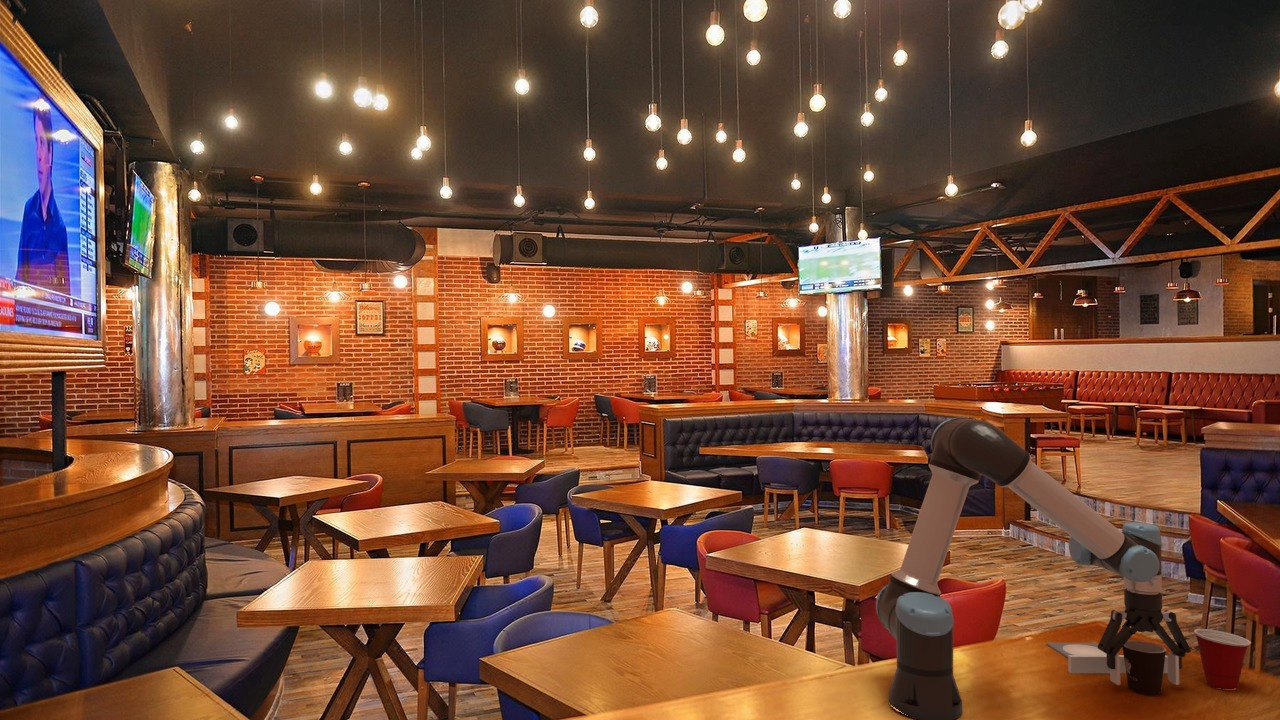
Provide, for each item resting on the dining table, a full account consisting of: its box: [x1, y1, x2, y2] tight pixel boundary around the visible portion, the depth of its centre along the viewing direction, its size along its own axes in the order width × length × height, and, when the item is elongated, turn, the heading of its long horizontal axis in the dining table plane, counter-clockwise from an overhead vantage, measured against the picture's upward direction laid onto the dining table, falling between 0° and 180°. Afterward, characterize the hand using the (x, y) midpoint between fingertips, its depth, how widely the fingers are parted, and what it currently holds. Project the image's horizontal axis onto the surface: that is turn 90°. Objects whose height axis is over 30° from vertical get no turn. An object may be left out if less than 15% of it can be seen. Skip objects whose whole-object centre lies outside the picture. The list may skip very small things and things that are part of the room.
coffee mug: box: [1121, 640, 1167, 697], centre depth 185 cm, size 12×9×10 cm
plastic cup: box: [1193, 628, 1252, 689], centre depth 186 cm, size 11×11×12 cm
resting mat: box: [1045, 642, 1119, 659], centre depth 209 cm, size 14×14×1 cm
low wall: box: [1067, 654, 1168, 674], centre depth 195 cm, size 24×1×4 cm, turn 90°
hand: (1144, 682), depth 185 cm, fingers open, 13 cm apart
